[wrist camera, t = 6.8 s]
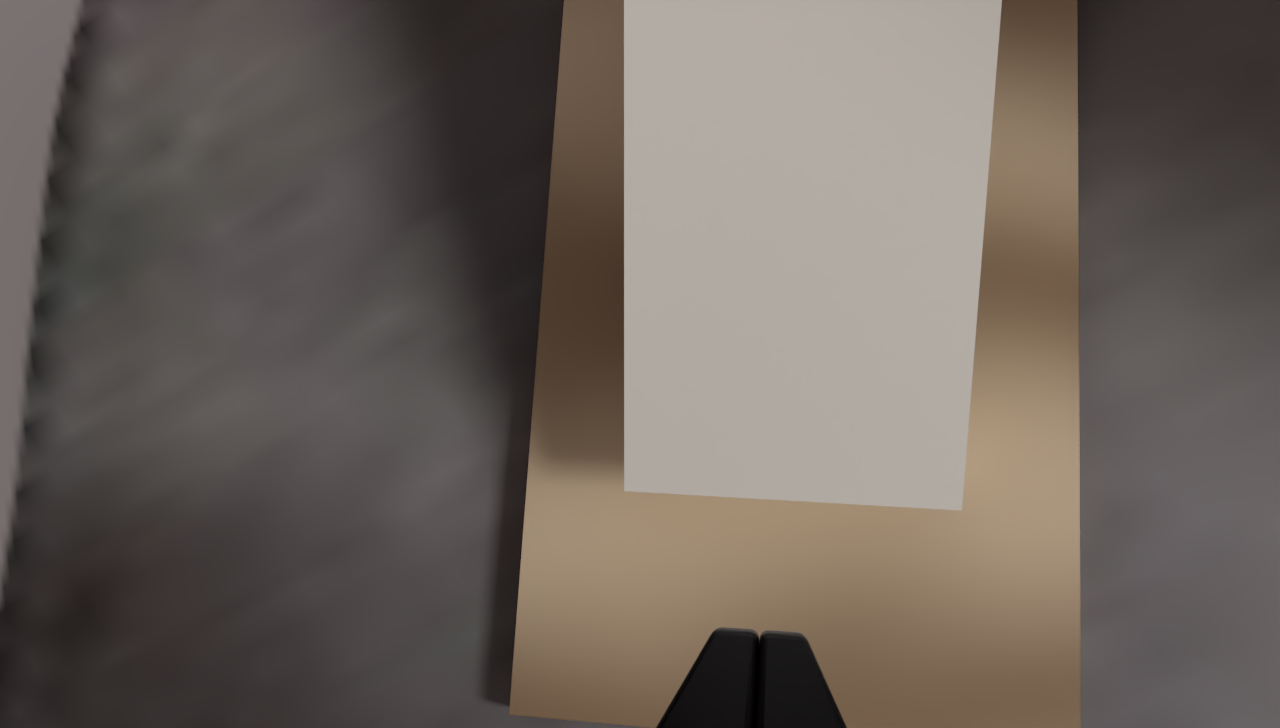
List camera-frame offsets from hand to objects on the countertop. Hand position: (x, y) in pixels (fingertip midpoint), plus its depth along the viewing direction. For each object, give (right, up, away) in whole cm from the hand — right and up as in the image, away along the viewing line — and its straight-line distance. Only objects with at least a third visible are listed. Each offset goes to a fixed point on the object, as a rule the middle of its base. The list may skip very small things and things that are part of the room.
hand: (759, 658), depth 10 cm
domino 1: (+1, +1, +6) cm, 7 cm away
